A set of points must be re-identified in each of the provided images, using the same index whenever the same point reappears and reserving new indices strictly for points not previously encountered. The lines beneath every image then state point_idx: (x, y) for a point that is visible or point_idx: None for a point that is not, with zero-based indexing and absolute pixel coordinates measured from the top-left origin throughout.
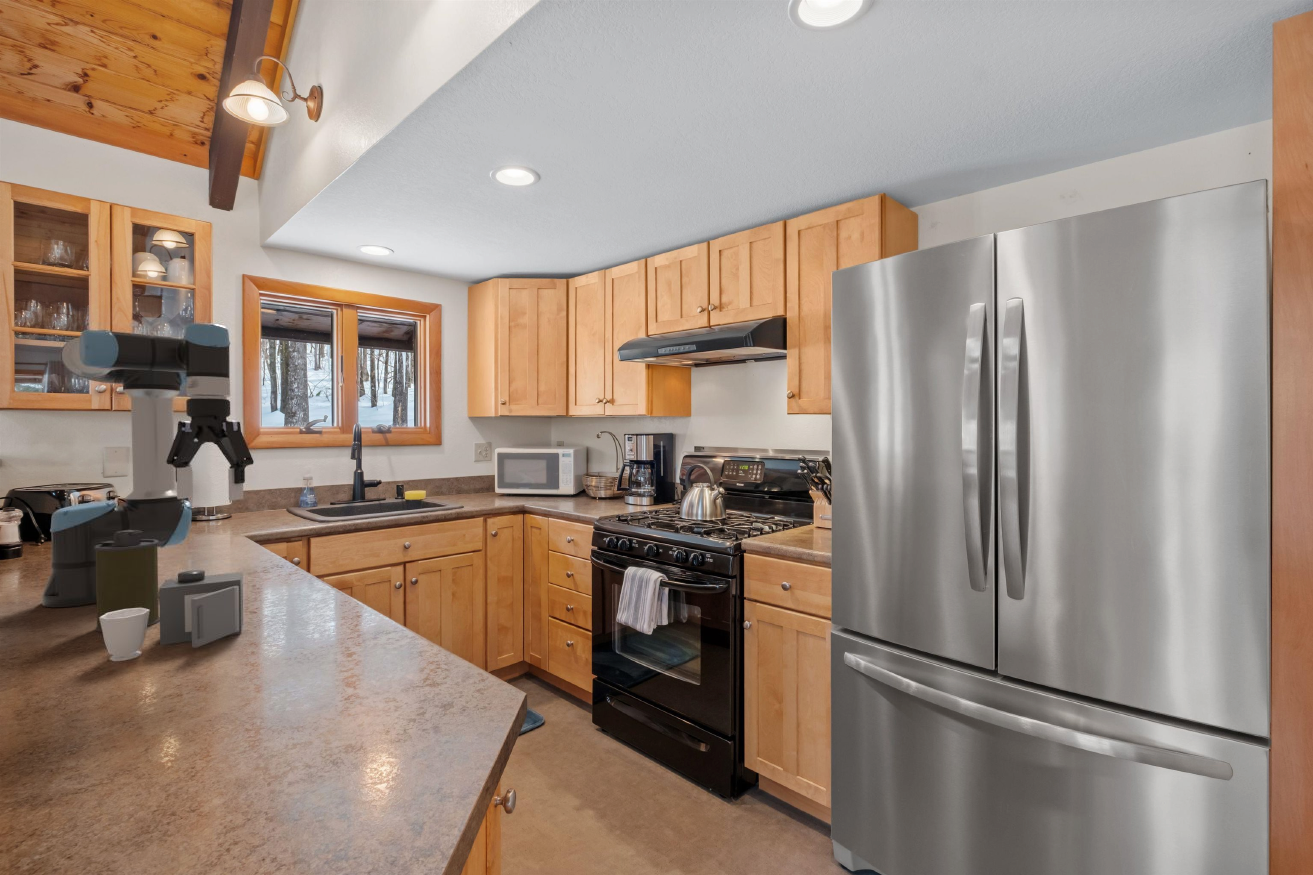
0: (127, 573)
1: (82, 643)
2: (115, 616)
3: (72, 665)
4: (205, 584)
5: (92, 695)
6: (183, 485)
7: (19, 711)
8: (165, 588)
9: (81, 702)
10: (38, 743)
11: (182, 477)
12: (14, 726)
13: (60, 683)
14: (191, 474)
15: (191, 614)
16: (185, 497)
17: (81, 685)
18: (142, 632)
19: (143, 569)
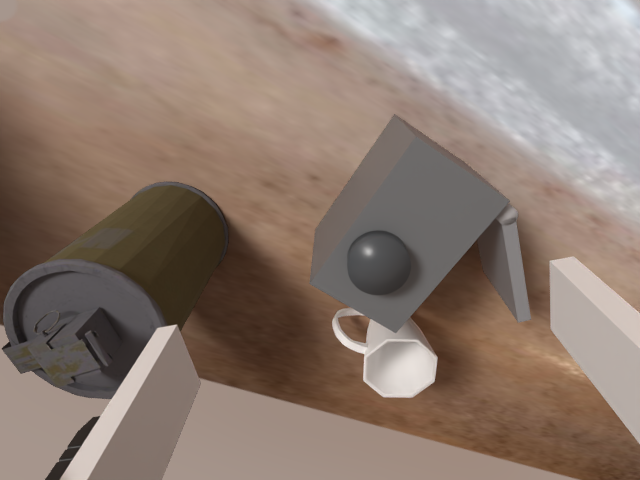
0: (187, 315)
1: (239, 317)
2: (367, 364)
3: (354, 366)
4: (455, 263)
5: (515, 401)
6: (167, 422)
7: (480, 448)
8: (402, 323)
9: (525, 414)
10: (599, 468)
11: (151, 476)
12: (523, 463)
13: (423, 399)
14: (112, 437)
15: (505, 303)
16: (189, 360)
17: (460, 392)
18: (419, 330)
19: (187, 287)
